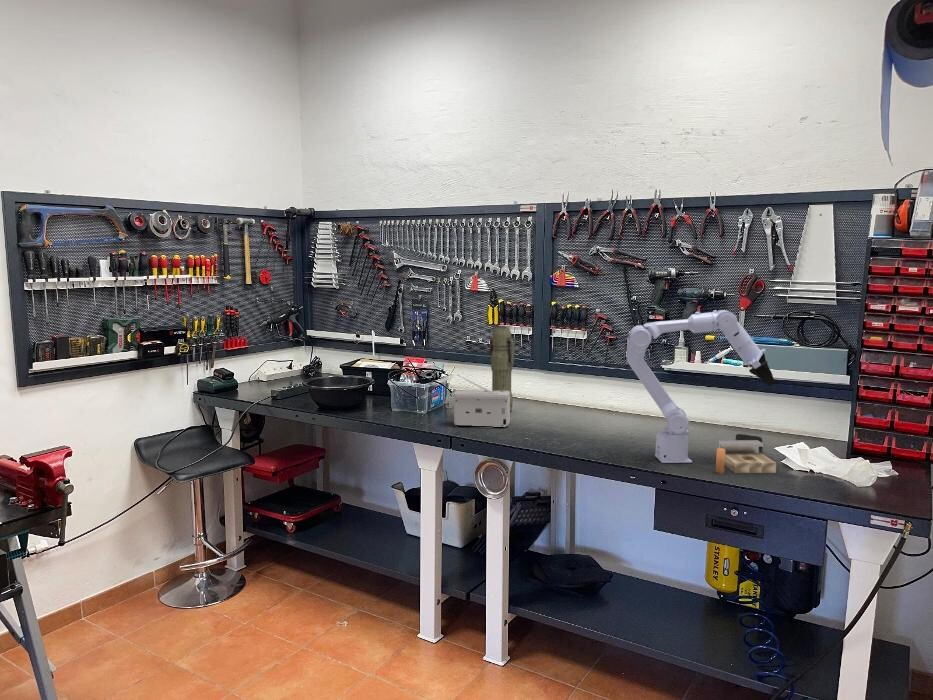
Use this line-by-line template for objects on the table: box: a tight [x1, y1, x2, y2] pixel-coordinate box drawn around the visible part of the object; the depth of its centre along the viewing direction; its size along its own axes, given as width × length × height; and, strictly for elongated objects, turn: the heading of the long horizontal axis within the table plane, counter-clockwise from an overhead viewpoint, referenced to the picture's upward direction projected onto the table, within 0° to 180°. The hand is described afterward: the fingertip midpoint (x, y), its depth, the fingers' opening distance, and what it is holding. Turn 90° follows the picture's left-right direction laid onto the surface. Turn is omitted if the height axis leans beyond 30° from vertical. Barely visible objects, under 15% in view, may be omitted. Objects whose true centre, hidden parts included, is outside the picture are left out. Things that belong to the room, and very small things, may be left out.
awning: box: [718, 439, 764, 454], centre depth 212 cm, size 12×4×6 cm, turn 91°
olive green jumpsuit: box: [489, 325, 515, 412], centre depth 281 cm, size 9×12×35 cm
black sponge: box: [734, 433, 764, 455], centre depth 225 cm, size 16×8×4 cm, turn 158°
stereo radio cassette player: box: [453, 374, 511, 428], centre depth 257 cm, size 21×8×20 cm, turn 84°
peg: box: [715, 447, 726, 475], centre depth 202 cm, size 2×2×7 cm
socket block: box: [725, 453, 777, 474], centre depth 206 cm, size 12×10×3 cm
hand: (770, 381), depth 206 cm, fingers open, 7 cm apart
